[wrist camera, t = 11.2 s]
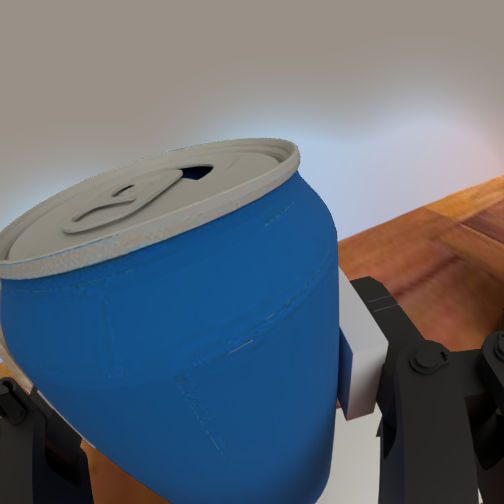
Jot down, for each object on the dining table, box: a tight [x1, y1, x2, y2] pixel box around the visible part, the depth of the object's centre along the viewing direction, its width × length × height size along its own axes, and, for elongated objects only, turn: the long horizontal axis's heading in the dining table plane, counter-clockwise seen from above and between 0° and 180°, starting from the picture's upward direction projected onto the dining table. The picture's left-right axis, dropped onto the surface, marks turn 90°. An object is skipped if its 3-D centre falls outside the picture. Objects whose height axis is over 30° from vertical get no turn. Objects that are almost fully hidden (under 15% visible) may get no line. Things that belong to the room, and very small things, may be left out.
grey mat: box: [315, 402, 483, 504], centre depth 16 cm, size 16×14×1 cm
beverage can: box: [0, 138, 339, 504], centre depth 8 cm, size 6×6×12 cm
